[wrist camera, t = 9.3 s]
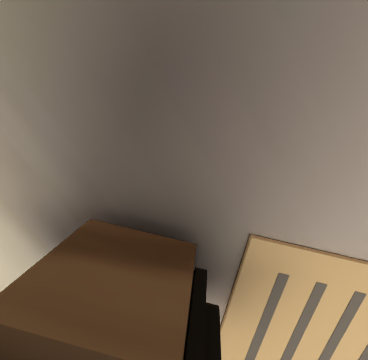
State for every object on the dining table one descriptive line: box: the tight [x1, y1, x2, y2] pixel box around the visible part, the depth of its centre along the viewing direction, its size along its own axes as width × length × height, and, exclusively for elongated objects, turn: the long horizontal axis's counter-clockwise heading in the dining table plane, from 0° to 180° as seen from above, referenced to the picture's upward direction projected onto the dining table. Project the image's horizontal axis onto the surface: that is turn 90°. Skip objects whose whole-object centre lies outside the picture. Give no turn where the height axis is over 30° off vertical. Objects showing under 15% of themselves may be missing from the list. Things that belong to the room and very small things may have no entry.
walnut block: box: [0, 219, 197, 360], centre depth 8 cm, size 5×5×5 cm
